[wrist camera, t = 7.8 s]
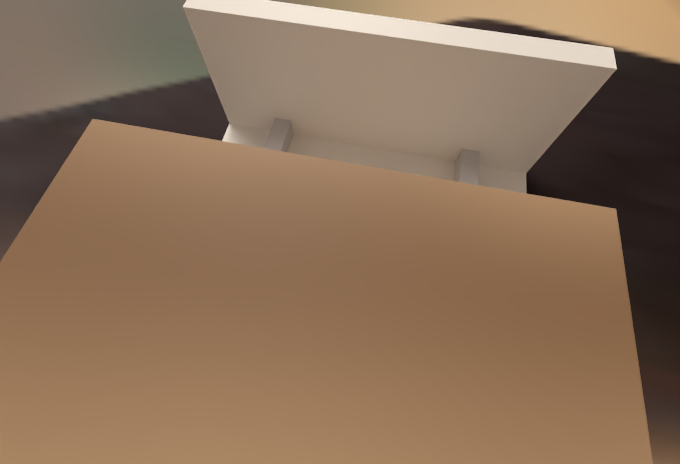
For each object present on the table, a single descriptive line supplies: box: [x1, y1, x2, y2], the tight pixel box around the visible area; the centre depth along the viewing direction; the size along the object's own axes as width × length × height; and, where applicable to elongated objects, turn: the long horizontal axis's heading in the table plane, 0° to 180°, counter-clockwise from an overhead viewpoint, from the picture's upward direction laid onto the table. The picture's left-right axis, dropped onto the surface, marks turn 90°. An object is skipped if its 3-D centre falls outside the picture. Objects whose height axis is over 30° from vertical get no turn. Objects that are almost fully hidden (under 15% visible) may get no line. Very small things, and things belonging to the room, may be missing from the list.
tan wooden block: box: [0, 119, 653, 464], centre depth 8 cm, size 6×6×10 cm
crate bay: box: [183, 0, 617, 194], centre depth 12 cm, size 18×15×7 cm
